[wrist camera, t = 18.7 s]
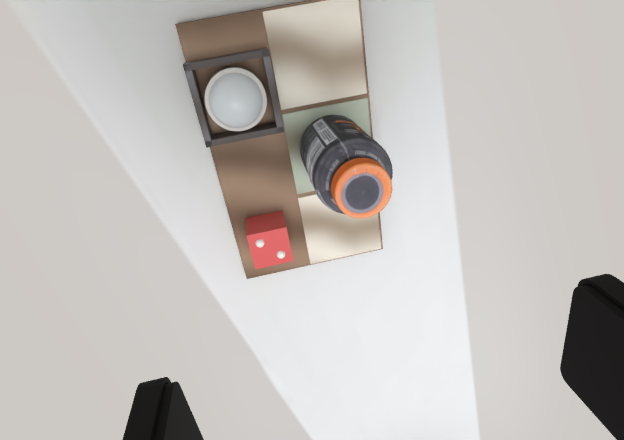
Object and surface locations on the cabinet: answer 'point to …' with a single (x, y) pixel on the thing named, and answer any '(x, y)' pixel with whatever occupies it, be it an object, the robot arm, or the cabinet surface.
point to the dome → (235, 98)
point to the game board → (285, 118)
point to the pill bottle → (346, 166)
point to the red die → (268, 239)
